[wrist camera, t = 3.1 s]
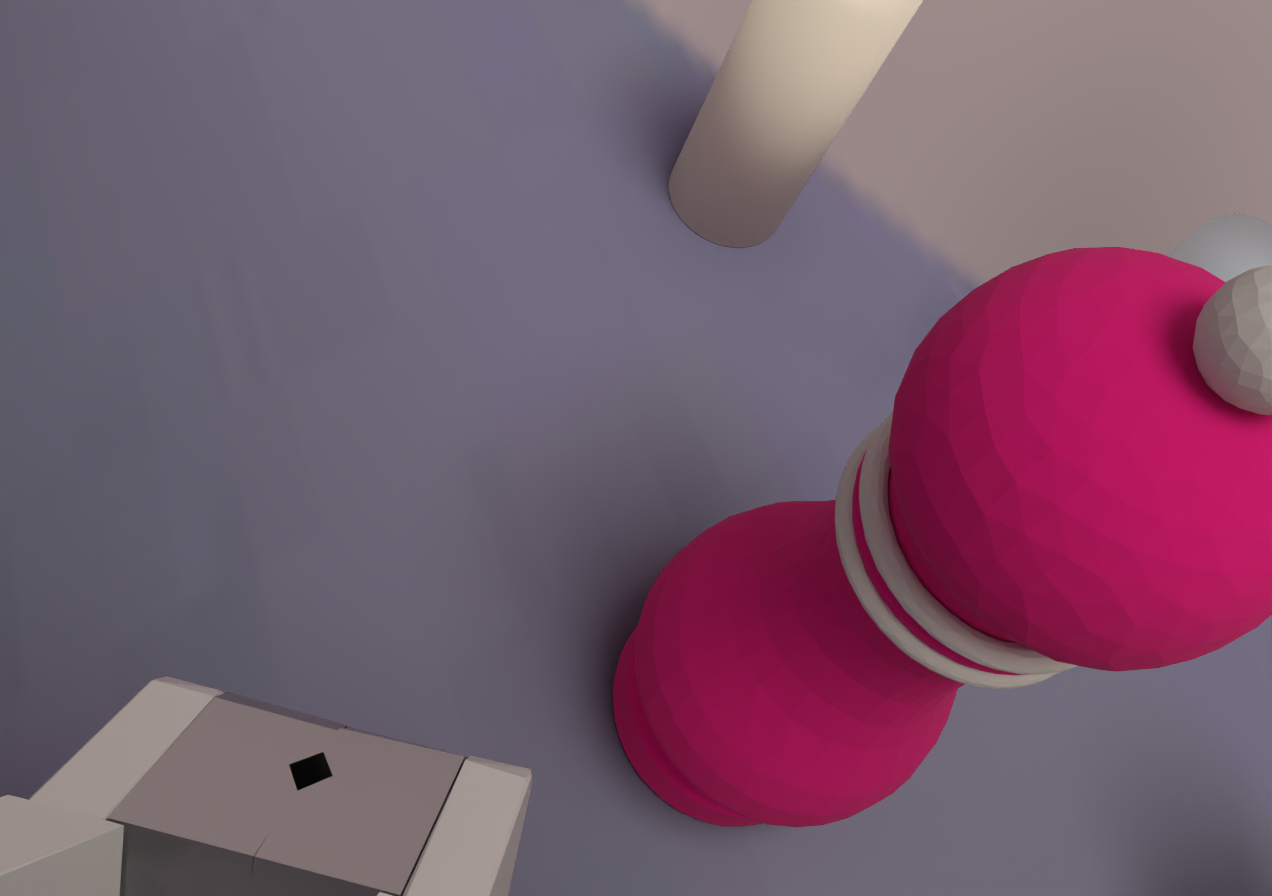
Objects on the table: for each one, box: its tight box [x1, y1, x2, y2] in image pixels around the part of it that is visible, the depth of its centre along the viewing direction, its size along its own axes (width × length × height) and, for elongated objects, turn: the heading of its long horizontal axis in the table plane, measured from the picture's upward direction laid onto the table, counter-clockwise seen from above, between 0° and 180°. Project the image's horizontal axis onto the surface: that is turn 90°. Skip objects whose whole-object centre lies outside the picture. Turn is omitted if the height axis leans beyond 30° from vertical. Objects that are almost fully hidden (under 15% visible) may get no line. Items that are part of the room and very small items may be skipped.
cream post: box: [669, 0, 923, 248], centre depth 33 cm, size 4×4×10 cm
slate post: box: [1167, 214, 1272, 282], centre depth 32 cm, size 4×4×10 cm
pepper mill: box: [613, 247, 1272, 827], centre depth 21 cm, size 7×7×20 cm
